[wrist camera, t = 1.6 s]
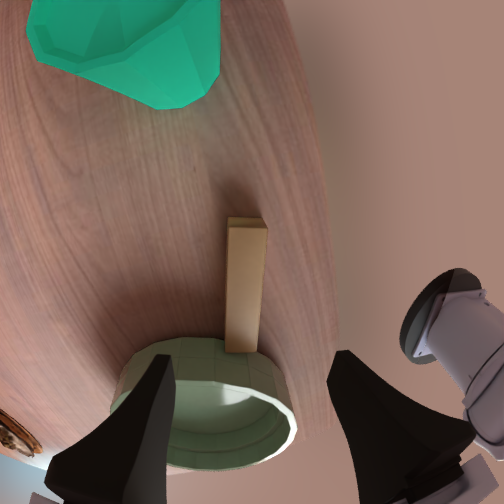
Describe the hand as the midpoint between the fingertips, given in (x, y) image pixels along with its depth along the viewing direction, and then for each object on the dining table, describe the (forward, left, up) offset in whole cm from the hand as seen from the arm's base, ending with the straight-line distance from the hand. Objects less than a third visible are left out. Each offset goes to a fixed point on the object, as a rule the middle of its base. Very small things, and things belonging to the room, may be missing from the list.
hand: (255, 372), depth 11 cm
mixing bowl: (+3, +12, -8) cm, 15 cm away
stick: (0, 0, -8) cm, 8 cm away
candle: (+5, -14, -9) cm, 17 cm away
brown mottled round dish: (+41, +33, -9) cm, 53 cm away
